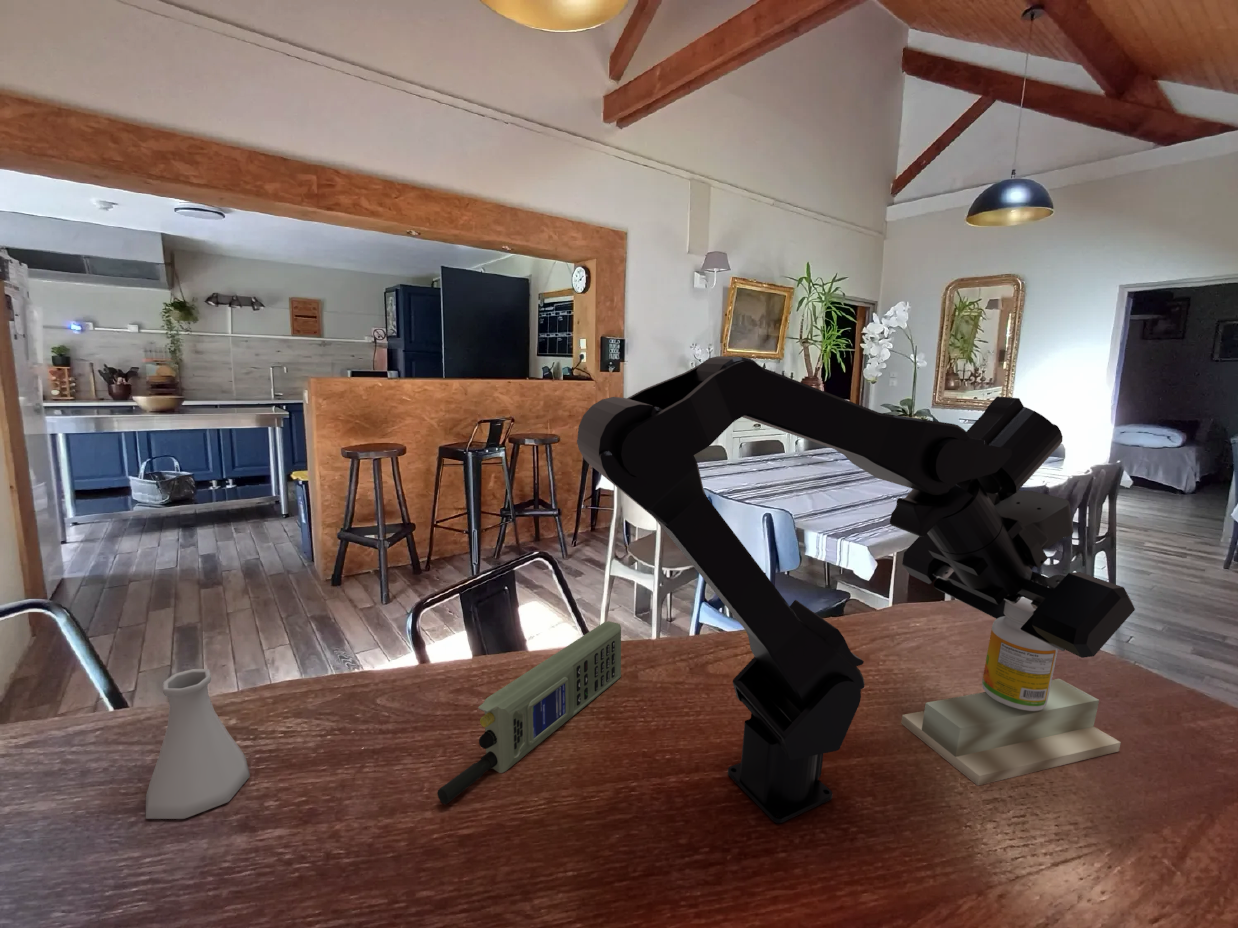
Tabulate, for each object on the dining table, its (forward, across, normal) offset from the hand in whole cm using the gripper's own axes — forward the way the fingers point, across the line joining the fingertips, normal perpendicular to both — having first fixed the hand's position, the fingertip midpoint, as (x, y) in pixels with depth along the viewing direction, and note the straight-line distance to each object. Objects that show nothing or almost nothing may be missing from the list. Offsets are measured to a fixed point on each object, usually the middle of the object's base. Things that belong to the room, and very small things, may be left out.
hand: (1035, 632), depth 56 cm
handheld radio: (-24, +13, +41) cm, 49 cm away
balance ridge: (+7, 0, +9) cm, 11 cm away
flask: (-44, +12, +62) cm, 77 cm away
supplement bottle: (+4, 0, +6) cm, 7 cm away
